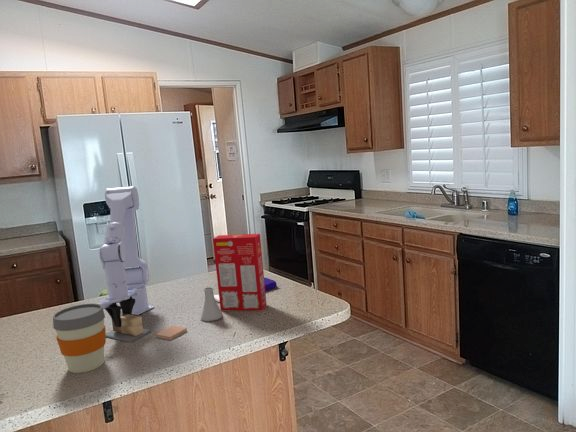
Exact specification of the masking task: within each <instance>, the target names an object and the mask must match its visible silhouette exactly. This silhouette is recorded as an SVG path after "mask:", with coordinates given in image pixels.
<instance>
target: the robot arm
mask: <svg viewBox="0 0 576 432" xmlns="http://www.w3.org/2000/svg"><path fill="white" fill-rule="evenodd" d="M139 197H140V196H139V192H138V188H137V187H136V186H135V185H131V186H123V187H112V188H111V187H110V188H109V187H107V188H106V190H105V192H104V198H105V203H106V205H107V206H108V208H109V209H110V214H109V215H110V222H109V224H107V225H106V227H105V233H104V240H103V245H102V246H100V247H99V252H98V253H99V258H100V262H101V264H102V269H103V270H104V273H105V280H106V288H107V293H108V294H107V295H108V297H107V296H106V297H105V298H104V299H102V300H101V301H99V302H97V303H96V304H100V305H102V307H103V311H104V310H105V311H106V312H107V313H108V315H109V316H110V319H111V321H112V320H113V322H114V325H115V327H121V313H125V314H130V315H135V316H139V315H140V314H143V313H145V312H147V311H150V310H152V309H153V308H155V305H149V298H148V292H147V285H148V284H149V282H150V269H149V266H148V263H147V261H145V260H144V259H142V258H140V257H139V249H138V239H137V228H136V221H135V220H136V219H135V218H136V217H135V216H136V215H135V214H136V211H138V210H139V209H140V199H139ZM118 303H119V305H118Z"/></svg>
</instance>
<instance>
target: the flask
mask: <svg viewBox="0 0 576 432" xmlns="http://www.w3.org/2000/svg"><path fill="white" fill-rule="evenodd" d="M203 292H204V304H203V307H202V308H203V309H202V311H201V317H200V321H203V322H211V321H212V322H213V321H217V320H219V319H221V318H223V311H221V309H220V305H218V301H216V300H215V298H214V295H215V294H214V287H213V286H209V287H208V286H207V287H204V288H203Z"/></svg>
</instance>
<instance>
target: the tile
mask: <svg viewBox="0 0 576 432" xmlns="http://www.w3.org/2000/svg"><path fill="white" fill-rule="evenodd" d="M187 331H188V330H187V328H186V327H184V326H183V327H182V326H176V325H171V326H169V327H166V328H164V329H163V330H161V331H159V332H156V333H155V334H154V335H155V338H158V339H162V340H168V341H171V340H174V339H175V338H177V337H179V336H180V335H182V334H184V333H186V332H187Z"/></svg>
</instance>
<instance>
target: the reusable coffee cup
mask: <svg viewBox="0 0 576 432" xmlns="http://www.w3.org/2000/svg"><path fill="white" fill-rule="evenodd" d="M105 318H106V315H105V311H104V310H103V307H102V305H100V304H97V303H83V304H77V305H72V306H69V307H66V308H63V309H60V310H58V311H57V312H55V313H54V314H53V316H52V327H53V329H54V330H55V332H56V341H57V345H58V347H59V350H60V353H61V355H62V356H63V358H64V360H65V363H66V364H65V365H66V366H67V369H68V371H69V372H70V373H73V374H79V373H80V374H81V373H87V372H91V371H92V370H95V369H99V368H100V367H101V366H102V365H104V363H105V345H106V343H107V342H106V341H107V340H106V339H107V337H106V324H105Z"/></svg>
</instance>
